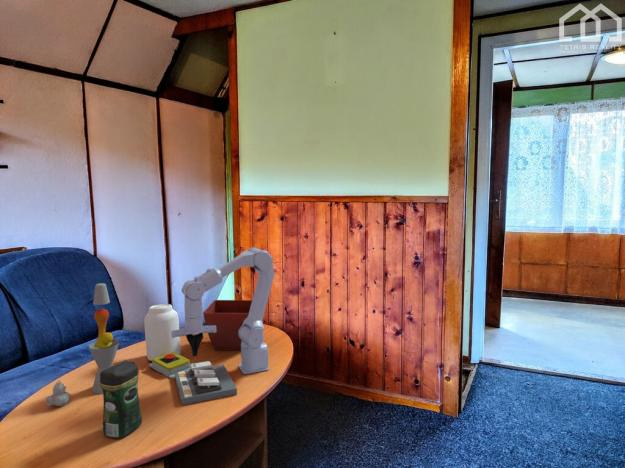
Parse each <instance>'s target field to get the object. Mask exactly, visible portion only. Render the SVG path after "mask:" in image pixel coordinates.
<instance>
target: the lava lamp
mask: <svg viewBox="0 0 625 468" xmlns="http://www.w3.org/2000/svg"><path fill="white" fill-rule="evenodd" d="M93 295H94V296H93V301H92V302H93V303H92V304H93V305H94V306H101V305H107V304H110V303H111V301H110V296H109V292H108V288H107V284H106V283H97V284H95V285H94V294H93ZM109 316H110V313H109V311H108V310H107V309H105V308H98V309H97V310H95V312H94V314H93V317H94V319H95V323H96V324H97V326H98V336H97V339H96V341H94V342H92V343H89V345H88V349H89V352H90V353H91V355H92V358H93V360H94V362H95V363H96V366H97V371H96V374H95V378H94V381H93V385H92V388H91V392H92V393H93V394H97V395H103V390H102V388H101V386H100V373H101V372H102V371H103V370H105V369H107V368H109V367H111V366H113V365H114V361H115V357H116V354H117V351H118V348H119V345H120V340H118V339H114V336H113V334H112V333H111V332H110V331H109V332H106V329H107V327H106V326H107V322H108V319H109Z"/></svg>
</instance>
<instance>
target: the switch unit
mask: <svg viewBox="0 0 625 468" xmlns="http://www.w3.org/2000/svg"><path fill="white" fill-rule="evenodd" d="M201 370H214V372H215V377H195V375H194V371H192V369H189V371H182V372H177V373H175V379H174V380H175V384H176V388H177V391H178V394H179V395H178V396H179V400H180V403H181V405H182V406H185V405H189V404H196V403H200V402H205V401H210V400H214V399H220V398H225V397H230V396H235V395H238V388H237V386H236V384H235V383H234V381H233V379H232V377H231V375H230V374H229V372H228V370H227V368H226V367H225V364H218V365H215V366H214V365H213V366H212V365H211V368H207V369H201ZM197 378H218V380H219V385H208V386H198V383H197Z"/></svg>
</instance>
